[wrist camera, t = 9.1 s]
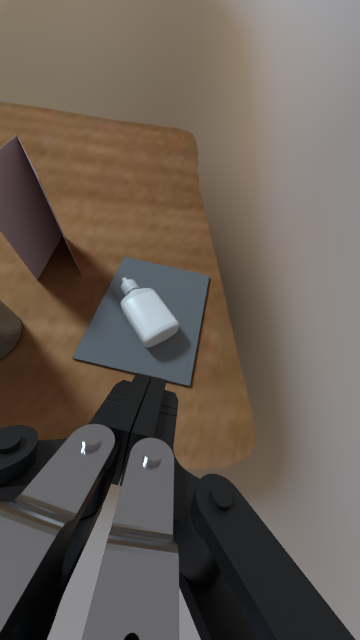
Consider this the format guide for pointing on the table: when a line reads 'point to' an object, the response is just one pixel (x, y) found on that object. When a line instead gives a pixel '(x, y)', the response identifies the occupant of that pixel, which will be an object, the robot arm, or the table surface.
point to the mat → (121, 339)
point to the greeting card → (26, 209)
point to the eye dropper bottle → (147, 314)
